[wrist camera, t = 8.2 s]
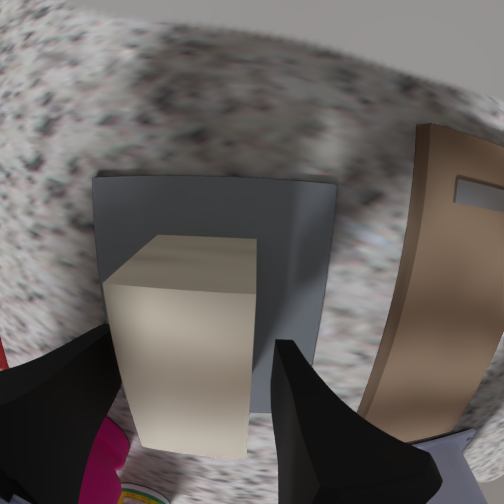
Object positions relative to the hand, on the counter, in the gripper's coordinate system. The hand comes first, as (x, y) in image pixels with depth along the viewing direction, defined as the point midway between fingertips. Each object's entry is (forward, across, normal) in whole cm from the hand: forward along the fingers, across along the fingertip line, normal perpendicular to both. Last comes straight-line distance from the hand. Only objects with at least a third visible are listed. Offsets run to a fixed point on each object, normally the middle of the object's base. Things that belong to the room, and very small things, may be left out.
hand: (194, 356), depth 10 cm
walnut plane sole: (+3, -12, 0) cm, 13 cm away
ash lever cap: (+3, 0, 0) cm, 3 cm away
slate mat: (+3, 0, 0) cm, 3 cm away
